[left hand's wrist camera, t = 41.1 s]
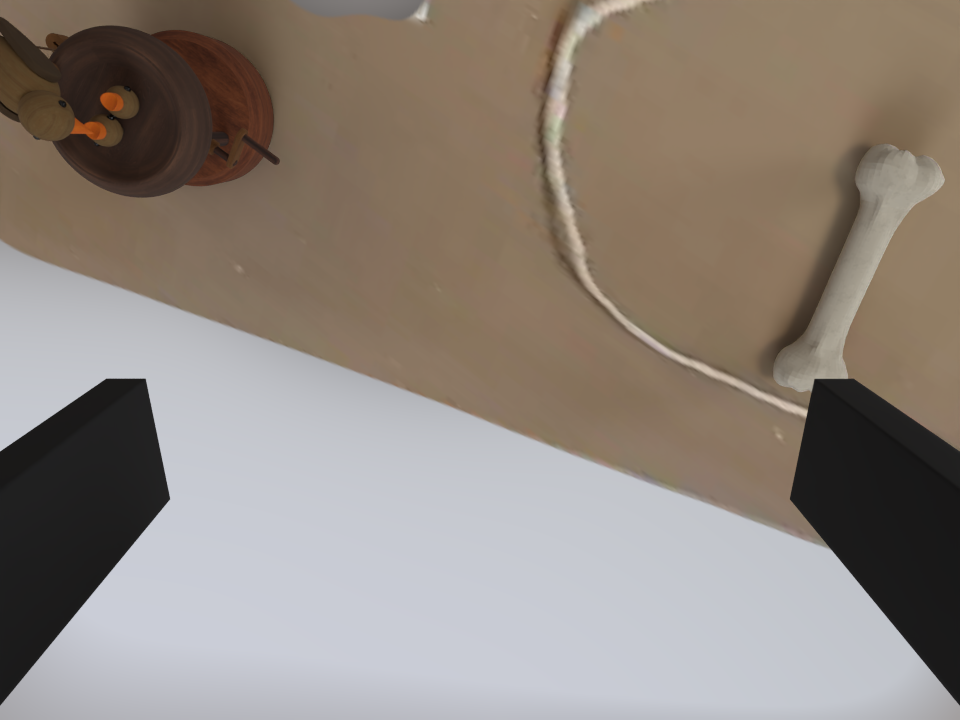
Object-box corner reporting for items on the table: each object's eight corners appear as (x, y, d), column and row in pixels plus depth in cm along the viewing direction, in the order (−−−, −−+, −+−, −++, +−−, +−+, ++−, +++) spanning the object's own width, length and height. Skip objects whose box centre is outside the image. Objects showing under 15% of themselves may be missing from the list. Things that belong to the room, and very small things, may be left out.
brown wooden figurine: (95, 137, 49) (-139, 111, 29) (145, -2, 46) (-75, -128, 27) (278, 232, 51) (172, 265, 32) (335, 105, 49) (257, 59, 30)
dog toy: (820, 387, 56) (851, 411, 52) (756, 373, 56) (782, 396, 51) (925, 157, 49) (972, 160, 45) (854, 138, 49) (894, 140, 44)
